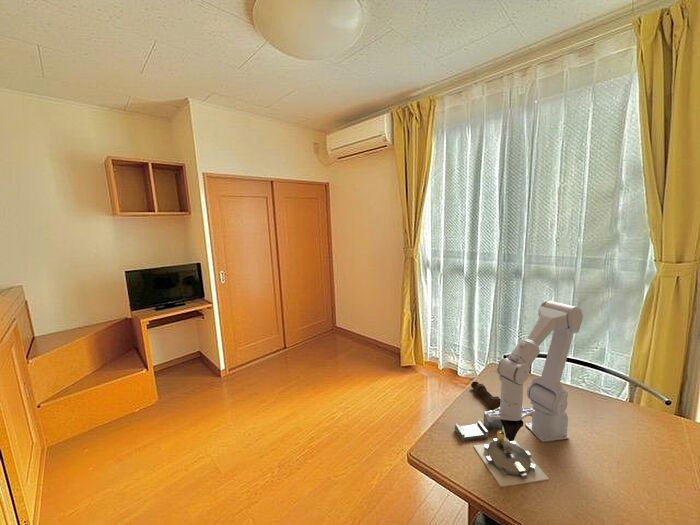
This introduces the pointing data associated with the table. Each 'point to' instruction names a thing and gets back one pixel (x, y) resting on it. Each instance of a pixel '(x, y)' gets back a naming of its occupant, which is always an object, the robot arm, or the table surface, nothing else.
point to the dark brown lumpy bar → (486, 396)
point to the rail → (471, 431)
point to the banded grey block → (492, 424)
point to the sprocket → (509, 457)
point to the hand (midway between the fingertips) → (509, 438)
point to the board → (509, 479)
